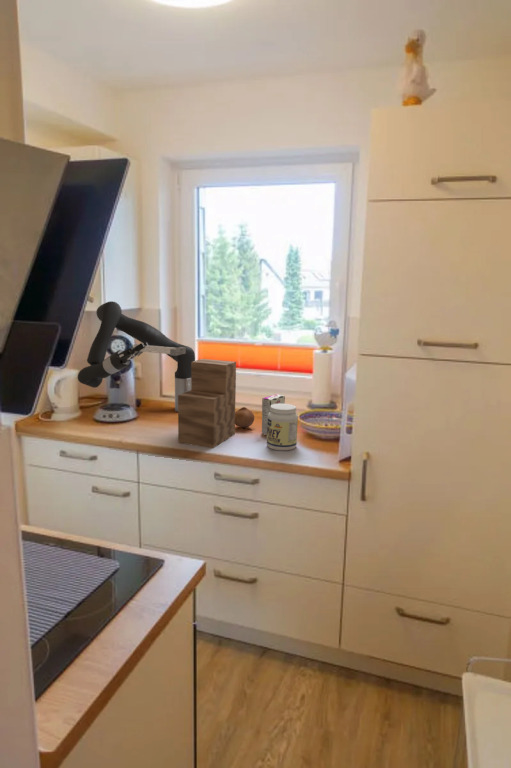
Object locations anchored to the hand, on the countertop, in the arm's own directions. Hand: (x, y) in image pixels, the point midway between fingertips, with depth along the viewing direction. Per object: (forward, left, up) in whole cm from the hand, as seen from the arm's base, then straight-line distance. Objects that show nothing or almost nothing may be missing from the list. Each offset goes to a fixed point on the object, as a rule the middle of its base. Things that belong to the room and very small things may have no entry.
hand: (145, 344), depth 211 cm
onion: (-27, +34, -39) cm, 58 cm away
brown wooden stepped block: (-6, +26, -39) cm, 47 cm away
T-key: (0, +6, -3) cm, 7 cm away
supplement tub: (-10, +58, -39) cm, 71 cm away
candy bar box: (-27, +48, -39) cm, 67 cm away
